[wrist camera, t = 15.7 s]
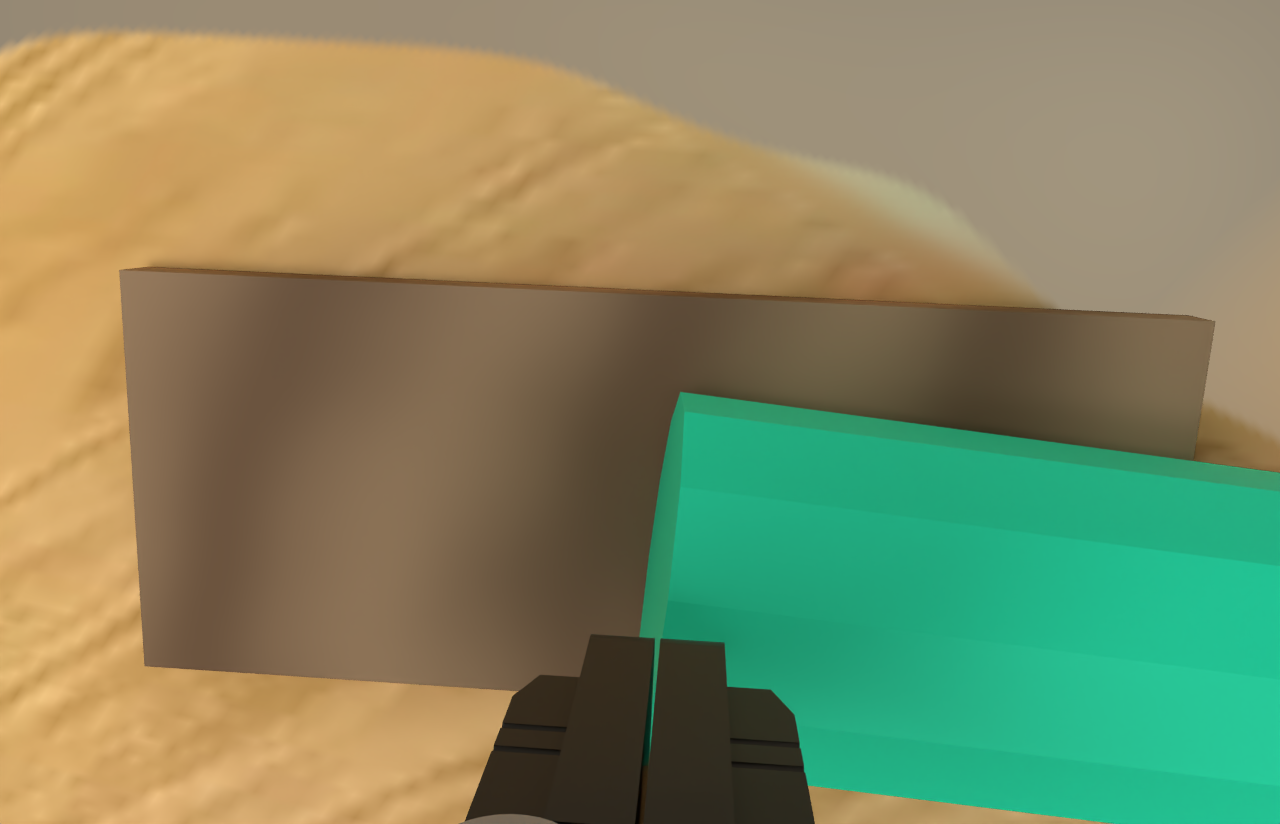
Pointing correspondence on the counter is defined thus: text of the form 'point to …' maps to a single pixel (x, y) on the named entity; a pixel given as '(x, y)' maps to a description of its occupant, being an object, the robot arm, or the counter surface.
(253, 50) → the counter surface
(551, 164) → the counter surface
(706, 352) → the board
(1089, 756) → the candle
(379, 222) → the counter surface
